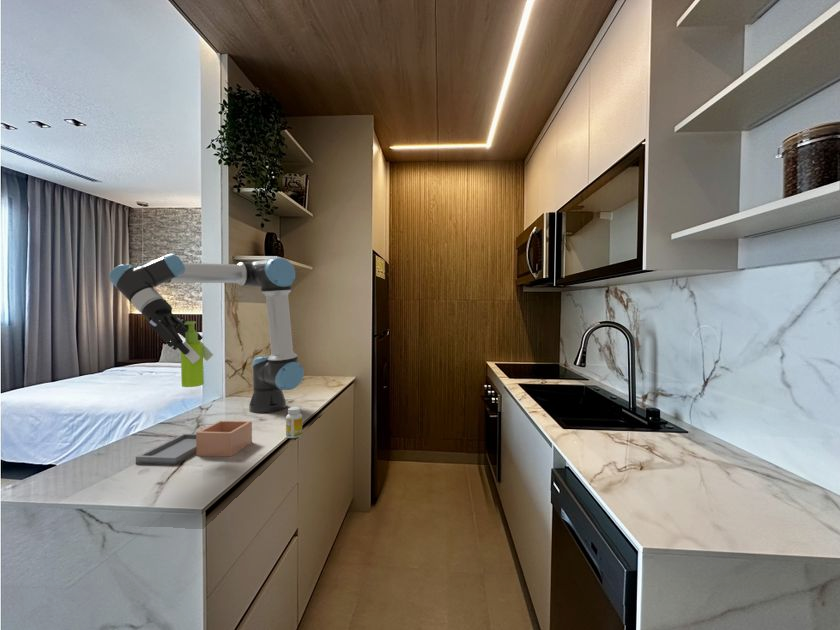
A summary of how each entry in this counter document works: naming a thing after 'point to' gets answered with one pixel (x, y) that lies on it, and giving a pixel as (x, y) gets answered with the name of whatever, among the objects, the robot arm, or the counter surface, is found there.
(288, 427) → the supplement bottle
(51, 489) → the counter surface
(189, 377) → the soap dispenser
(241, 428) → the terracotta open box
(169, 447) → the grey tray
